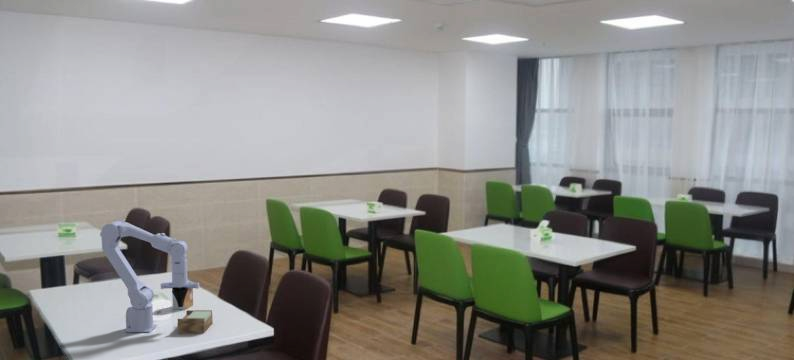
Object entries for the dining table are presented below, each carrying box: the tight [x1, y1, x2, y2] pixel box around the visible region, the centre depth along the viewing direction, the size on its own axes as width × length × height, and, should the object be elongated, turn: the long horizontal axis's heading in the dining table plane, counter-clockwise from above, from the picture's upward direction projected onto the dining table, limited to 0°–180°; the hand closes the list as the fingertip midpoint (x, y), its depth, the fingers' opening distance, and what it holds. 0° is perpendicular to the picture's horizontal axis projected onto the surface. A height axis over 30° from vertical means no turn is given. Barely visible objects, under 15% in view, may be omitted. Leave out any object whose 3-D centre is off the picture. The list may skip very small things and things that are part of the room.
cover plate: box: [186, 311, 211, 322], centre depth 259 cm, size 7×9×2 cm
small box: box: [171, 288, 194, 311], centre depth 287 cm, size 8×6×10 cm
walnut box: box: [177, 309, 213, 334], centre depth 259 cm, size 10×12×6 cm
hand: (180, 306), depth 258 cm, fingers closed
